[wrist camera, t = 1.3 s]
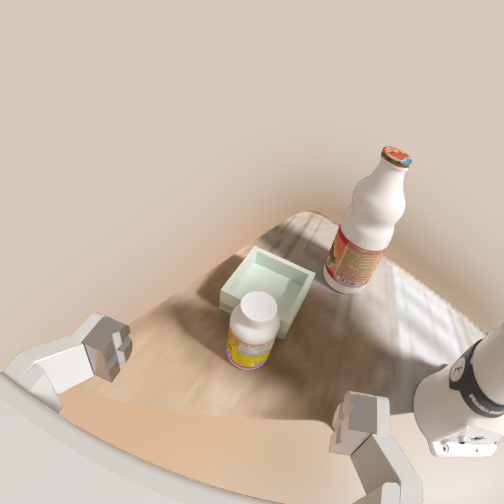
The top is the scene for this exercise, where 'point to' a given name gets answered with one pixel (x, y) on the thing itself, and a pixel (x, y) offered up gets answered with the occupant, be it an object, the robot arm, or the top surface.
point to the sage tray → (269, 285)
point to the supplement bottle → (252, 330)
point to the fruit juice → (368, 224)
